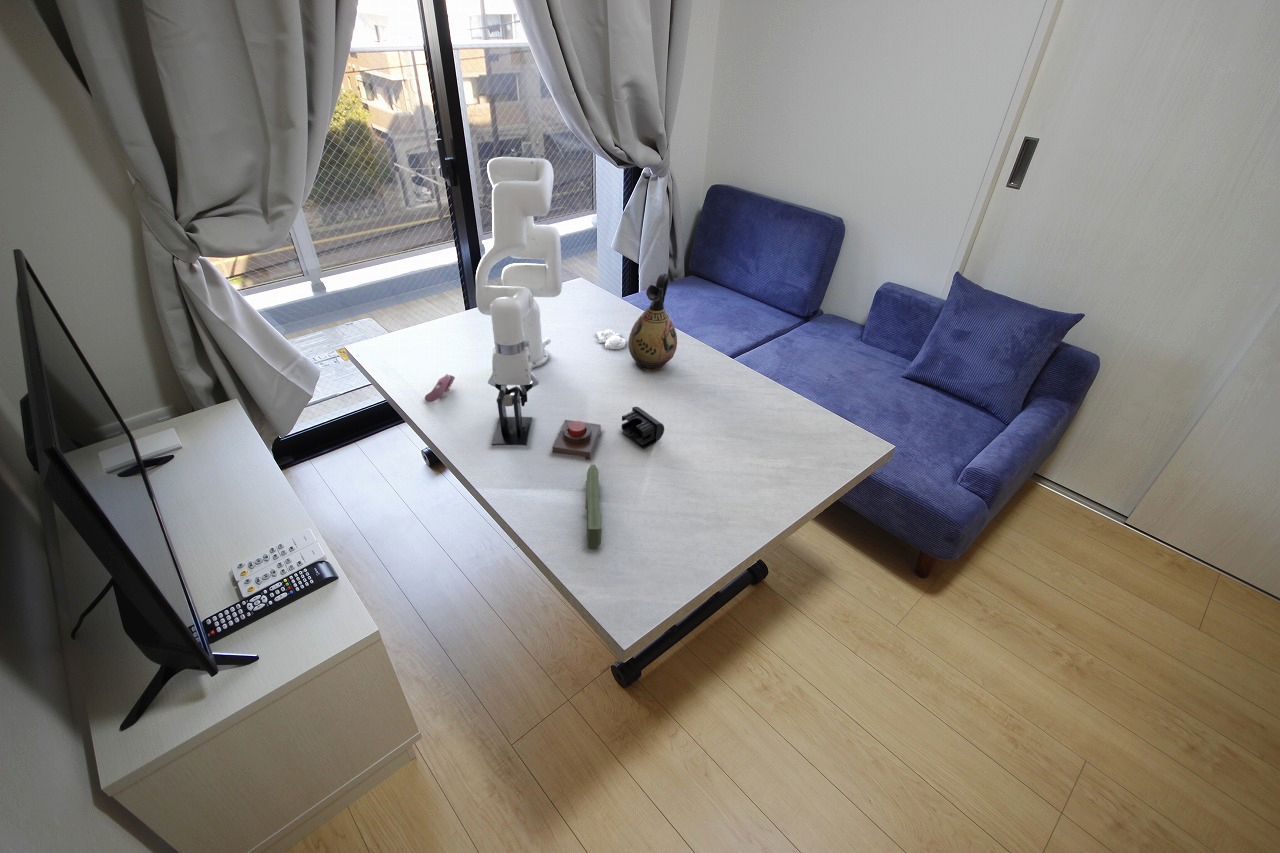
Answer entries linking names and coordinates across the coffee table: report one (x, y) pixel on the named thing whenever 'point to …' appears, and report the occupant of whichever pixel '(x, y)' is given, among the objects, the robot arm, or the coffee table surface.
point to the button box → (577, 440)
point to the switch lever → (511, 396)
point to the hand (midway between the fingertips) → (515, 403)
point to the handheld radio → (593, 509)
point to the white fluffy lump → (611, 339)
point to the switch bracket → (511, 423)
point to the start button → (576, 428)
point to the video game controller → (440, 388)
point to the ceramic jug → (653, 331)
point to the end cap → (642, 428)
